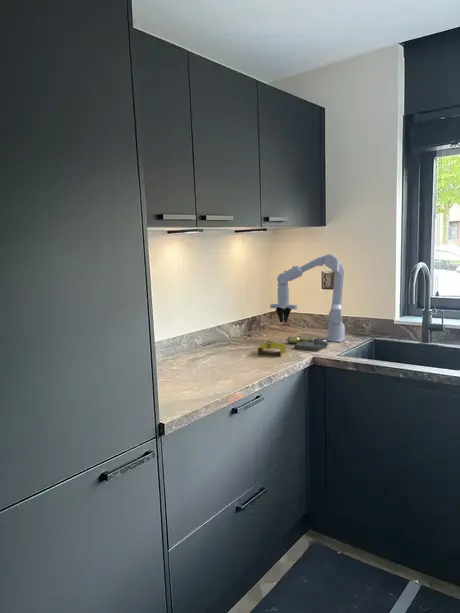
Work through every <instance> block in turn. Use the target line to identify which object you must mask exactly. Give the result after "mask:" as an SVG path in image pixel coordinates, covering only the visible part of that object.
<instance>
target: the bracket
mask: <svg viewBox="0 0 460 613" xmlns="http://www.w3.org/2000/svg"><path fill="white" fill-rule="evenodd" d="M264 349H267V350H268V349H269V350H273V349H274V350H275V349H276V350H280V357H282V356H283V355H284V353H285V352H286V344H285V343H278V341H270V340H267V341H266V342H263V343H262V344H260V345H259V346H258V347H257V356H260V354H262V352H264ZM282 354H283V355H282Z"/></svg>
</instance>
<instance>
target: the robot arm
mask: <svg viewBox="0 0 460 613" xmlns="http://www.w3.org/2000/svg"><path fill="white" fill-rule="evenodd" d="M324 265H325V267H327V268H328V269H330V270H331V271H332V272H333V273H334V280H333V289H332V298H331V299H332V300H331V305H330V306H331V307H330V311H329V312H328V318H329V321H328V323H327V325H328V326H327V327H328V328H327V329H328V333H327V334H328V335H327V336H328V338H326V339H325V340H327V342H336V343H341V342H344V340H347V337H345V336H346V326H345V324H344V323H343V315H342V300H343V291H344V290H343V288H344V278H345V268H344V267H343V265H342V264H341V262H340V259H338V257H336V256H335V255H333V254H332V253H331V254H326V255H323V256H319V257H316V258H315V259H313V260H311V261H309V262H307V263H305V264H304V265H302V266H298V265H296V266H295V265H293V266H292V267H291V268H289V269H288V270H284V271H283V272H281V273H279V274H278V276H277V278H276V282H277V303H271V304H270V306H269V308H270V309H275V313H276V314H277V317H278V320H279V323H284V324H286V323H288V320H289V316H290V314H291V311H292V310H297V309H298V305H297V304H290V296H289V295H290V292H289V289H290V288H289V282H291V281H294V280H296V279H298V278H301V277H302V276H303V274H304V273H305V272H307V271H309V270H311V269H314V268H317V267H319V266H320V267H324Z"/></svg>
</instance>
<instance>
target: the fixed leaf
mask: <svg viewBox="0 0 460 613" xmlns="http://www.w3.org/2000/svg"><path fill="white" fill-rule="evenodd" d="M329 345H330V343H329V341H327V340H326V339H320V338H319V339H315V340H314V343H310V342H300V343H297V344H294V350H300V349H301V350H302V351H311V352H320V351H321V350H324V349H325V348H327V347H328V346H329ZM301 350H300V351H301Z"/></svg>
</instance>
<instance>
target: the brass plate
mask: <svg viewBox="0 0 460 613" xmlns="http://www.w3.org/2000/svg"><path fill="white" fill-rule="evenodd" d="M315 339H319V340H320V337H319V336H309V335H301V334H299V335H293V336H288V337H287V338H286V341H287V343H288V344H294V345H295V344H297V343H300V342H310V343H314V340H315Z"/></svg>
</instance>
